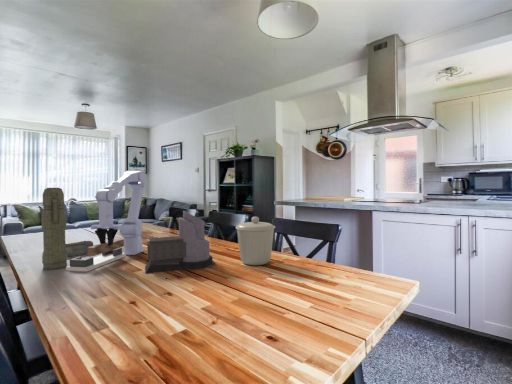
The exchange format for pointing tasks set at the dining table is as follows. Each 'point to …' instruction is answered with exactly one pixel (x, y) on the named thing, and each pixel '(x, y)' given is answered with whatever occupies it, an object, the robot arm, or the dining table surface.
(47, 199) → the olive stone pillar
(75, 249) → the dark grey stone block
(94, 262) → the end cap cradle
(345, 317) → the dining table surface
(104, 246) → the walnut slat
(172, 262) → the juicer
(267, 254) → the canister
